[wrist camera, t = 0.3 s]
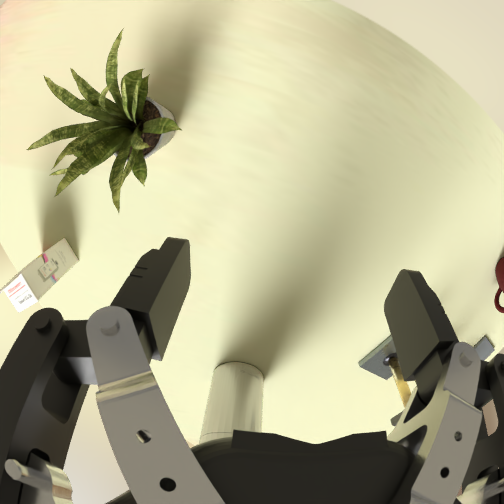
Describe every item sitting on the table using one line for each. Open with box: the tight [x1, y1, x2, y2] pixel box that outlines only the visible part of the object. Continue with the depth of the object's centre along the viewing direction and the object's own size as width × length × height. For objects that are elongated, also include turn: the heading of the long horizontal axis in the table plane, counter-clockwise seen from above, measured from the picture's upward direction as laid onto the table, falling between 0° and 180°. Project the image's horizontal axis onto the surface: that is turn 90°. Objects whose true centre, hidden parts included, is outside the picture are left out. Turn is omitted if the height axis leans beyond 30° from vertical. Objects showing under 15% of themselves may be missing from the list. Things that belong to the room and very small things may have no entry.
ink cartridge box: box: [0, 238, 79, 312], centre depth 31 cm, size 9×5×15 cm, turn 114°
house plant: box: [26, 28, 182, 211], centre depth 21 cm, size 14×14×16 cm
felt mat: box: [473, 336, 494, 361], centre depth 44 cm, size 12×10×1 cm
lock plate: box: [359, 335, 400, 380], centre depth 42 cm, size 9×9×1 cm
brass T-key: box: [388, 357, 416, 426], centre depth 37 cm, size 5×26×14 cm, turn 55°
